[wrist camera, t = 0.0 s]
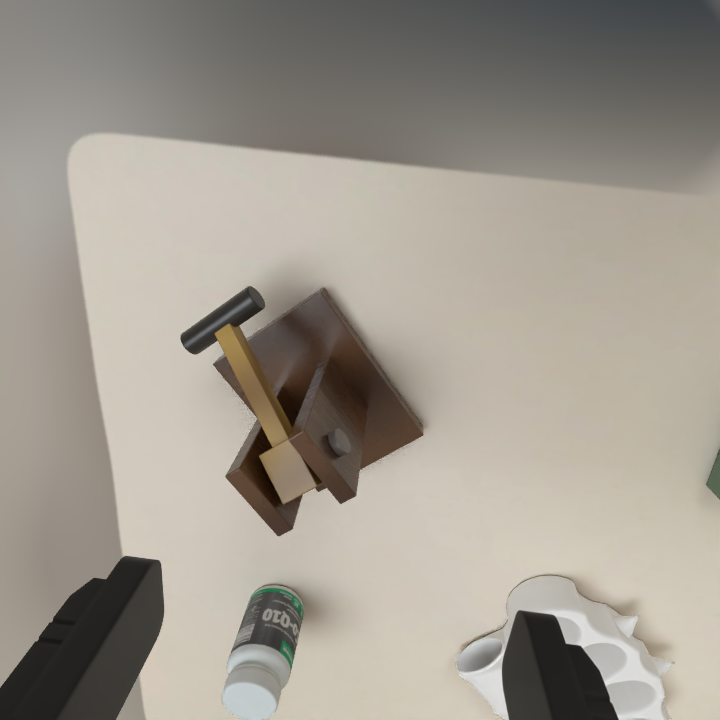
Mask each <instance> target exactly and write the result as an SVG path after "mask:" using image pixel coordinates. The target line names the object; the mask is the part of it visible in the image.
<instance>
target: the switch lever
mask: <svg viewBox="0 0 720 720" xmlns="http://www.w3.org/2000/svg"><path fill="white" fill-rule="evenodd" d="M264 308H265V302H264V300H263V298H262V296H261V295H260V293H259V292H258V291H257V290H256V289H255V288H253V287H251V286H248V287H247V288H245V289H244V290H242V291H241V292H240V293H238V294H237V295H235V296H234V297H233V298H231V299H230V300H228V301H227V302H226V303H224V304H223V305H221V306H220V307H219V308H217V309H216V310H214V311H213V312H212V313H210V314H209V315H207V316H206V317H205V318H203V319H202V320H200V321H199V322H198V323H196V324H195V325H193V326H192V327H191V328H189V329H188V330H186V331H185V332H184V333H182V334H181V342H182V344H183V346H184V347H185V349H186V350H187V351H189V352H190V353H192V354H199V353H200V352H202V351H203V350H205V349H206V348H207V347H209V346H210V345H212V344H213V343H215V342H216V341H218V342H219V344H220V346H221V348H222V349H223V351H224V353H225V355H226V357H227V359H228V361H229V363H230V365H231V367H232V369H233V371H234V373H235V375H236V377H237V379H238V381H239V383H240V385H241V387H242V389H243V391H244V393H245V395H246V397H247V398H248V400H249V402H250V404H251V406H252V408H253V410H254V412H255V414H256V416H257V418H258V420H259V422H260V424H261V426H262V428H263V430H264V432H265V434H266V436H267V438H268V440H269V442H270V444H271V446H272V447H273V448H271V449H269V450H268V451H266V452H264V453H263V454H261V455H259V458H260V460H261V462H262V464H263V466H264V468H265V470H266V472H267V474H268V476H269V478H270V480H271V482H272V484H273V486H274V488H275V490H276V492H277V494H278V496H279V498H280V500H281V502H282V504H286V503H288V502H290V501H292V500H293V499H295V498H297V497H299V496H301V495H303V494H304V493H306V492H308V491H310V490H312V489H314V488H315V487H317V486H319V485H320V484H322V483H323V482H322V481H321V480H320V478H319V477H318V476H317V475H316V474H315V472H314V471H313V470H312V469H311V467H310V466H309V465H308V464H307V463H306V461H305V460H304V459H303V458H302V456H301V455H300V454H299V453H298V452H297V450H296V449H295V448H294V447H293V445H292V444H291V443H290V442H289V440H288V438H289V436H290V433H291V431H292V426H291V424H290V422H289V420H288V419H287V417H286V415H285V413H284V411H283V409H282V407H281V405H280V403H279V401H278V399H277V397H276V395H275V394H274V392H273V390H272V388H271V386H270V384H269V382H268V380H267V378H266V376H265V374H264V372H263V371H262V369H261V367H260V365H259V363H258V361H257V359H256V357H255V355H254V353H253V351H252V349H251V347H250V346H249V344H248V342H247V340H246V338H245V336H244V334H243V332H242V330H241V328H240V326H239V325H241V324H242V323H244V322H245V321H247V320H248V319H250V318H251V317H252V316H254V315H255V314H257V313H258V312H260V311H261V310H263V309H264Z"/></svg>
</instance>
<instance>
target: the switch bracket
mask: <svg viewBox="0 0 720 720" xmlns="http://www.w3.org/2000/svg"><path fill="white" fill-rule="evenodd" d="M246 340H247V342H248V344H249V346H250V347H251V349H252V351H253V353H254V355H255V357H256V359H257V361H258V363H259V365H260V367H261V369H262V371H263V372H264V374H265V376H266V378H267V380H268V382H269V384H270V386H271V388H272V390H273V392H274V394H275V395H276V397H277V399H278V401H279V403H280V405H281V407H282V409H283V411H284V413H285V415H286V417H287V419H288V420H289V422H290V424H291V426H292V431H291V433H290V436H289V438H288V440H289V442H290V443H291V444H292V445H293V447H294V448H295V449H296V450H297V452H298V453H299V454H300V455H301V456H302V458H303V459H304V460H305V461H306V463H307V464H308V465H309V466H310V467H311V469H312V470H313V471H314V472H315V474H316V475H317V476H318V477H319V478H320V480H321V481H322V482H323V483H322V484H320V485H319V486H317V487H315V488H316V490H317V491H318V492H319V491H321V490H323V489H325V488H328V489H329V491H330V492H331V493H332V494H333V496H334V497H335V498H336V499H337V500H338V502H339V503H340V504H342V503H344V502H346V501H347V500H349V499H351V498H353V497H355V496H356V493H357V486H358V478H359V471H360V469H362V468H364V467H366V466H368V465H369V464H371V463H373V462H375V461H377V460H379V459H380V458H382V457H384V456H386V455H388V454H390V453H392V452H393V451H395V450H397V449H399V448H401V447H403V446H404V445H406V444H408V443H410V442H412V441H414V440H416V439H417V438H419V437H421V436H423V426H422V425H421V423H420V422H419V421H418V419H417V418H416V416H415V415H414V414H413V412H412V411H411V409H410V408H409V407H408V405H407V404H406V402H405V401H404V400H403V398H402V397H401V395H400V394H399V393H398V391H397V390H396V388H395V387H394V386H393V384H392V383H391V381H390V380H389V379H388V377H387V376H386V374H385V373H384V372H383V370H382V369H381V367H380V366H379V365H378V363H377V362H376V360H375V359H374V358H373V356H372V355H371V353H370V352H369V351H368V349H367V348H366V346H365V345H364V344H363V342H362V341H361V339H360V338H359V337H358V335H357V334H356V332H355V331H354V330H353V328H352V327H351V325H350V324H349V323H348V321H347V320H346V318H345V317H344V316H343V314H342V313H341V311H340V310H339V309H338V307H337V306H336V304H335V303H334V302H333V300H332V299H331V297H330V296H329V295H328V293H327V292H326V290H325V289H324V288H321V289H320V290H319V291H317V292H316V293H314V294H313V295H311V296H310V297H308V298H307V299H305V300H304V301H302V302H301V303H299V304H298V305H296V306H295V307H293V308H292V309H290V310H289V311H287V312H286V313H285V314H283V315H282V316H280V317H279V318H277V319H276V320H274V321H273V322H271V323H270V324H268V325H267V326H265V327H264V328H262V329H261V330H259V331H258V332H256V333H255V334H253V335H252V336H251V337H249V338H248V339H246ZM213 365H214V366H215V367H216V369H217V370H218V371H219V372H220V374H221V375H222V376H223V377H224V378H225V380H226V381H227V382H228V383H229V384H230V386H231V387H232V388H233V389H234V390H235V392H236V393H237V394H238V395H239V397H240V398H241V399H242V400H243V401H244V403H245V404H246V405H247V406H248V407H249V409H250V410H251V411H252V412H253V413H254V415H255V416H256V414H255V412H254V410H253V408H252V406H251V404H250V402H249V400H248V398H247V397H246V395H245V393H244V391H243V389H242V387H241V385H240V383H239V381H238V379H237V377H236V375H235V373H234V371H233V369H232V367H231V365H230V363H229V361H228V359H227V357H226V355H225V354H224V355H222V356H221V357H219V358H218V359H217V361H216V362H215V363H214V364H213ZM256 417H257V416H256ZM271 448H273V447H272V446H271V444H270V442H269V440H268V438H267V436H266V434H265V432H264V430H263V428H262V426H261V424H260V422H259V420H258V419H257V420H256V422H255V424H254V426H253V428H252V429H251V431H250V433H249V435H248V437H247V438H246V440H245V442H244V444H243V446H242V447H241V449H240V451H239V453H238V455H237V456H236V458H235V460H234V462H233V464H232V465H231V467H230V469H229V471H228V473H227V474H226V478H227V479H228V481H229V482H230V483H231V484H232V485H233V486H234V487H235V488H236V490H237V491H238V492H239V493H240V494H241V495H242V496H243V497H244V499H245V500H246V501H247V502H248V503H249V504H250V505H251V506H252V508H253V509H254V510H255V511H256V512H257V513H258V514H259V515H260V517H261V518H262V519H263V520H264V521H265V522H266V523H267V524H268V526H269V527H270V528H271V529H272V530H273V531H274V532H275V533H276V535H277V536H281V535H282V534H284V533H286V532H288V531H290V530H292V529H293V526H294V523H295V519H296V516H297V512H298V509H299V505H300V502H301V499H302V495H301V496H299V497H297V498H295V499H293V500H292V501H290V502H288V503H286V504H282V502H281V500H280V498H279V496H278V494H277V492H276V490H275V488H274V486H273V484H272V482H271V480H270V478H269V476H268V474H267V472H266V470H265V468H264V466H263V464H262V462H261V460H260V458H259V455H261V454H263V453H264V452H266V451H268V450H269V449H271Z"/></svg>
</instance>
